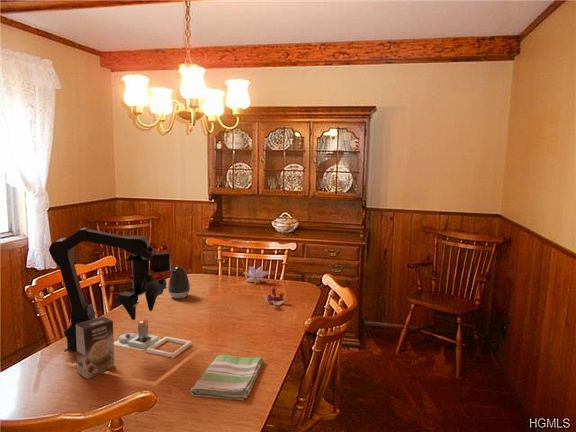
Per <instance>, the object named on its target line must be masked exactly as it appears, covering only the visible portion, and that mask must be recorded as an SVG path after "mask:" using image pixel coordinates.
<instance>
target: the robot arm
mask: <svg viewBox="0 0 576 432" xmlns="http://www.w3.org/2000/svg"><path fill="white" fill-rule="evenodd" d="M83 242H88V243H93V244H98V245H103V246H107V247H113V248H118V249H121V250H123V251H125V252H127V253H130V254H129V255H128V256H126V259H125V262H131V272H132V273H131V275H130V276H129V280H132V286H131V287H129V290H130V292H129V291H124V292H121V293H119V294H117V296H116V303H117V304H119V305H122V306H123V307H124V309H125V310H126V312H127V315H128V316H129V317H130V318H131V320H132V321H135V320H136V317H137V316H136V314H137V305H139V302H138V301H139V297H140V296H142V295H145V299H146V303H147V307H148V311H149V312H152V311H153V310H154V307H155V303H156V300H157V297H159V296H160V295H163V293H164V290H165V289H168V287H167V279H165V278H160V279H156V280H155V279H154V276H153V274H151V272H150V270H151V271H152V272H154V273H172V258H171V252H159V253H158V252H157V253H156V251H155V250H154V248H153V247H152V246H151V245H150V244H151V243H150V240H149V239H148V238H147V237H146V236H145V235H144V236H143V235H120V234H116V233H110V232H105V231H100V230H95V229H90V228H88V227H83V228H79V230H78V231H76V232H75V233H73V234H72V235H70V236H68V237H62V238H59V239H57V240H55V241H54V242H52V243H51V244H50V246H49V247H48V252H49V255H50V256H51V258H52V260H53V262H54V264H56V265H57V267H58V268H59V270H60V274H61V277H62V281H63V284H64V288H65V291H66V294H67V297H68V302H69V304H70V324H69V326H68V327H67V328H66V330H65V331H64V336H65V338H66V345H67V347H66V348H65V349H64V350H63V351H64V352H68V351H71V352H77V342H76V324H77V323H81V322H84V321H88V320H92V319H95V315H96V314H97V313H96V312H95V310H94V305H93V303H90V304H88V303H87V302H86V300H85V297H84V293H83V289H82V287H81V286H82V285H81V283H80V280H79V276H78V273H77V270H76V266H75V253H76V252H75V247H76V246H78V245H79V244H80V243H83Z"/></svg>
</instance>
